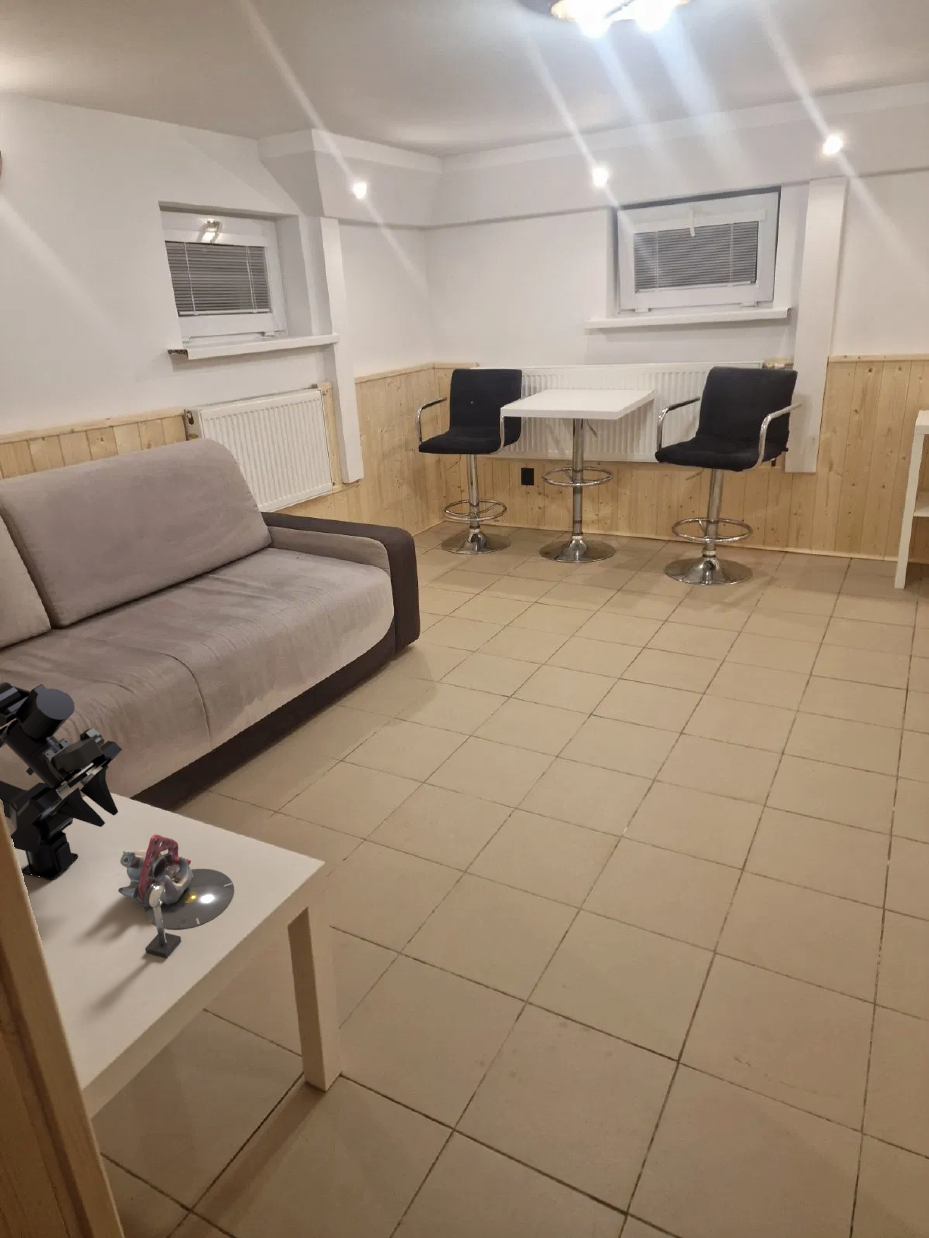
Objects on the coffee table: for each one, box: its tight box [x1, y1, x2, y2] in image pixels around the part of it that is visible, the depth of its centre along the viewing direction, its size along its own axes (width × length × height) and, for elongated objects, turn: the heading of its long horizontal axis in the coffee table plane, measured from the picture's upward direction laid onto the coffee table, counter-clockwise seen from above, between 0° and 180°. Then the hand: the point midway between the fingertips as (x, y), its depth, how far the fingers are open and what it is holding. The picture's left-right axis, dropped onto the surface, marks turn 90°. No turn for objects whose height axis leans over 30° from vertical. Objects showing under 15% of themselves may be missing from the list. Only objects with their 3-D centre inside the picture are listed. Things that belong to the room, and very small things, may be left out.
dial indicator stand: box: [142, 883, 182, 960], centre depth 122 cm, size 4×4×12 cm
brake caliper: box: [117, 834, 193, 905], centre depth 134 cm, size 11×11×12 cm
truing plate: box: [143, 868, 235, 930], centre depth 134 cm, size 14×14×1 cm
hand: (109, 819), depth 133 cm, fingers open, 3 cm apart
